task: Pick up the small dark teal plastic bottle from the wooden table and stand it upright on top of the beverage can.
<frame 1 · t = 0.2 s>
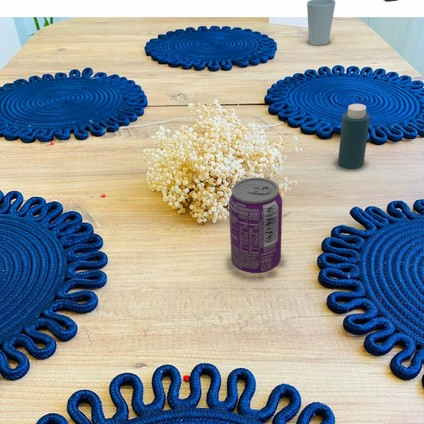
cup: (318, 43, 152), on the table
beverage can: (256, 263, 77), on the table
bottle: (350, 163, 97), on the table
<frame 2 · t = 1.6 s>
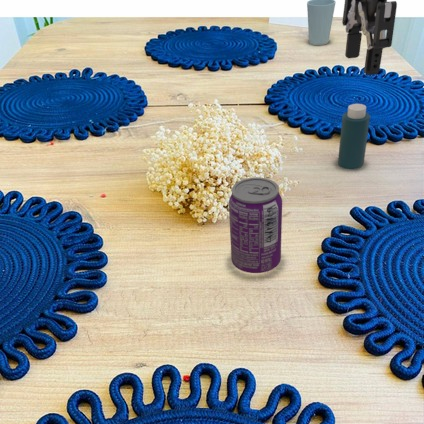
hand: (361, 65, 86), 17 cm above the table, tool pointing down, fingers open, 8 cm apart
nothing on the table moved.
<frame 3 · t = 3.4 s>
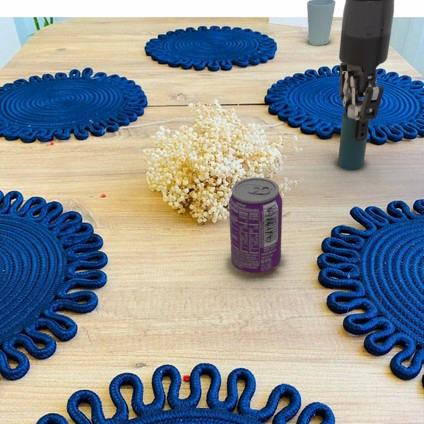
hand: (353, 133, 93), 6 cm above the table, tool pointing down, fingers closed on bottle, 4 cm apart
bottle: (350, 163, 97), on the table, touching gripper
everything else where it was.
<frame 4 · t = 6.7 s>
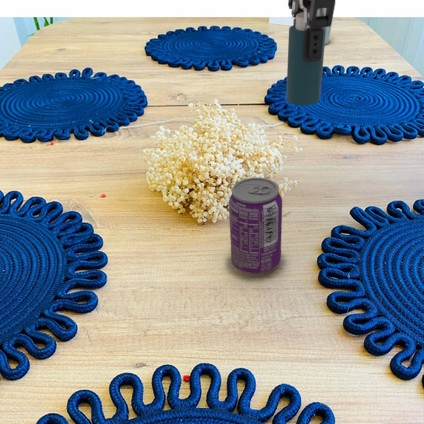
hand: (306, 54, 69), 25 cm above the table, tool pointing down, fingers closed on bottle, 4 cm apart
bottle: (303, 99, 73), point 19 cm above the table, touching gripper
everything else where it was.
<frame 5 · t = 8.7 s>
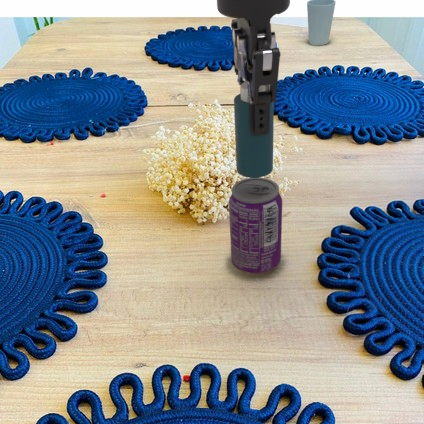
hand: (254, 124, 63), 21 cm above the table, tool pointing down, fingers closed on bottle, 4 cm apart
bottle: (254, 169, 67), point 15 cm above the table, touching gripper
everything else where it was.
when the fingers open (18 cm above the table, at t = 10.0 s): bottle stays where it is, resting on beverage can.
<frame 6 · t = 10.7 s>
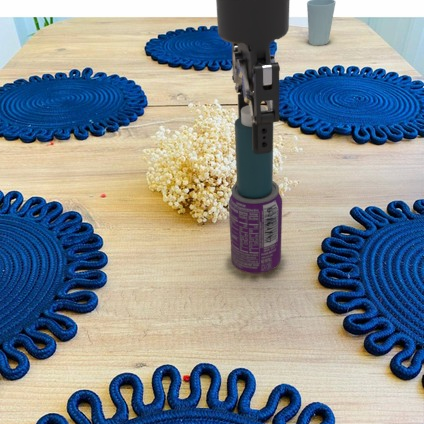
hand: (254, 137, 64), 19 cm above the table, tool pointing down, fingers open, 8 cm apart
beverage can: (256, 263, 77), on the table, touching bottle
bottle: (254, 188, 69), point 12 cm above the table, touching beverage can
everything else where it was.
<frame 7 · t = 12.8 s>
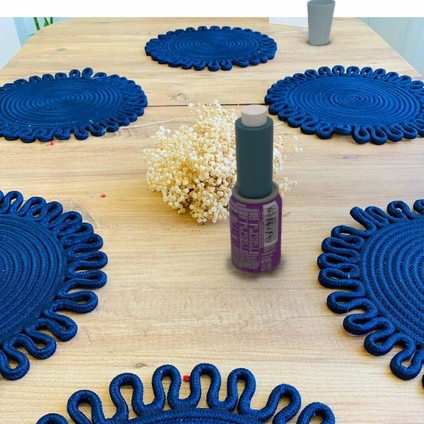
nothing on the table moved.
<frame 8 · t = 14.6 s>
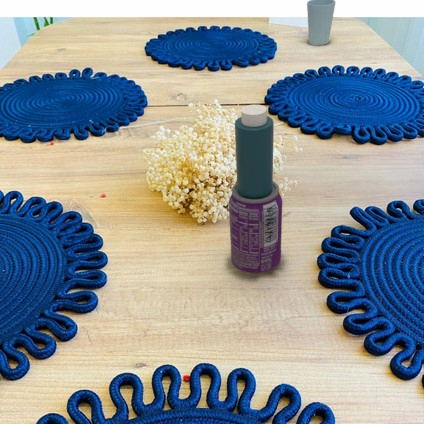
nothing on the table moved.
at the end: bottle 0.0 cm off-centre on the beverage can, point 12.2 cm above the beverage can's base; bottle tilted 0°; the gripper is holding nothing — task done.
